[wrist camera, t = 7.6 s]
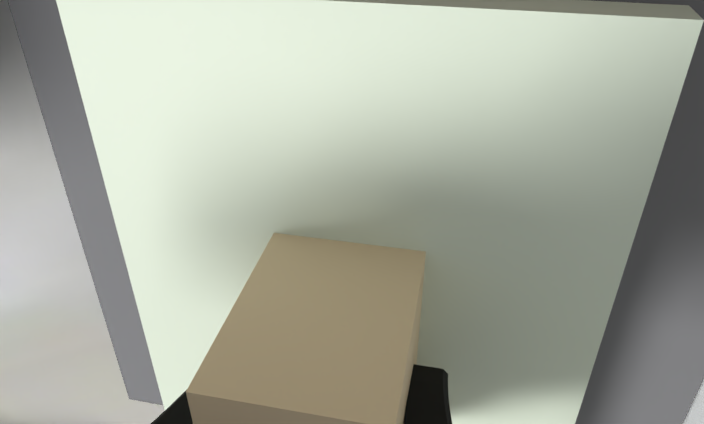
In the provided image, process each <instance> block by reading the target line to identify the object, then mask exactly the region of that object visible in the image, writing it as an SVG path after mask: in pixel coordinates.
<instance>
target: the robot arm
mask: <svg viewBox="0 0 704 424" xmlns="http://www.w3.org/2000/svg"><path fill="white" fill-rule="evenodd" d="M186 391H187V390H186ZM186 391H185V392H184V393H183V394H182V395H181V396H179V397H178V398H177V399H176V400H175V401H174V402H173V403H172V404H171V405H170V406H169V407H168V408H167V409H166V410H165V411H164V412H163V413H162V414H161V415H160V416H159V417H158V418H157V419H156V420H154V421H153V422H152V423H151V424H193V421H192V417H191V412H190V408H189V404H188V399H187V395H186ZM404 424H452V419H451V413H450V405H449V395H448V373H447V372H446V371H445V370H444V369H441V368H435V367H428V366H422V365H416V364H414V365H413V370H412V375H411V381H410V386H409V391H408V397H407V402H406V408H405V421H404Z"/></svg>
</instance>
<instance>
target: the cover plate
mask: <svg viewBox="0 0 704 424" xmlns="http://www.w3.org/2000/svg"><path fill="white" fill-rule="evenodd" d="M56 3H57V6H58V10H59V14H60V18H61V21H62V25H63V29H64V33H65V36H66V40H67V44H68V48H69V52H70V55H71V59H72V63H73V67H74V70H75V74H76V78H77V82H78V85H79V89H80V93H81V97H82V100H83V104H84V108H85V112H86V116H87V119H88V123H89V127H90V131H91V134H92V138H93V142H94V146H95V149H96V153H97V157H98V161H99V165H100V168H101V172H102V176H103V180H104V183H105V187H106V191H107V195H108V198H109V202H110V206H111V210H112V213H113V217H114V221H115V225H116V229H117V232H118V236H119V240H120V244H121V247H122V251H123V255H124V259H125V262H126V266H127V270H128V274H129V277H130V281H131V285H132V289H133V293H134V296H135V300H136V304H137V308H138V311H139V315H140V319H141V323H142V326H143V330H144V334H145V338H146V341H147V345H148V349H149V353H150V357H151V360H152V364H153V368H154V372H155V375H156V379H157V383H158V387H159V390H160V394H161V398H162V402H163V406H164V409H165V410H166V409H167V408H168V407H169V406H170V405H171V404H172V403H173V402H174V401H175V400H176V399H177V398H178V397H179V396H181V395H182V394H183V393H184V392H185V391H186V390H187V391H186V395H187V399H188V404H189V408H190V412H191V417H192V421H193V424H404V421H405V408H406V402H407V397H408V391H409V386H410V381H411V375H412V370H413V365H414V364H416V365H422V366H428V367H435V368H441V369H444V370H445V371H446V372H447V373H448V395H449V405H450V413H451V419H452V424H575V422H576V419H577V416H578V413H579V410H580V407H581V403H582V400H583V397H584V394H585V391H586V388H587V385H588V382H589V378H590V375H591V372H592V369H593V366H594V363H595V360H596V356H597V353H598V350H599V347H600V344H601V341H602V338H603V335H604V331H605V328H606V325H607V322H608V319H609V316H610V313H611V309H612V306H613V303H614V300H615V297H616V294H617V291H618V288H619V284H620V281H621V278H622V275H623V272H624V269H625V266H626V262H627V259H628V256H629V253H630V250H631V247H632V244H633V241H634V237H635V234H636V231H637V228H638V225H639V222H640V219H641V216H642V212H643V209H644V206H645V203H646V200H647V197H648V194H649V190H650V187H651V184H652V181H653V178H654V175H655V172H656V169H657V165H658V162H659V159H660V156H661V153H662V150H663V147H664V143H665V140H666V137H667V134H668V131H669V128H670V125H671V122H672V118H673V115H674V112H675V109H676V106H677V103H678V100H679V97H680V93H681V90H682V87H683V84H684V81H685V78H686V75H687V71H688V68H689V65H690V62H691V59H692V56H693V53H694V50H695V46H696V43H697V40H698V37H699V34H700V31H701V28H702V24H703V21H704V20H703V19H702V18H701V17H700V16H699V15H698V14H697V13H696V12H695V11H694V10H693V9H692V8H691V7H690V6H689V5H672V4H651V3H630V2H610V1H589V0H56Z"/></svg>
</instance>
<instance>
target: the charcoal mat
mask: <svg viewBox="0 0 704 424" xmlns="http://www.w3.org/2000/svg"><path fill="white" fill-rule="evenodd" d="M589 1H610V2H630V3H651V4H672V5H689V6H690V7H691V8H692V9H693V10H694V11H695V12H696V13H697V14H698V15H699V16H700V17H701V18H702V19H703V20H704V0H589ZM8 4H9V7H10V10H11V13H12V17H13V20H14V23H15V27H16V30H17V33H18V36H19V40H20V43H21V46H22V49H23V53H24V56H25V59H26V63H27V66H28V69H29V72H30V76H31V79H32V82H33V85H34V89H35V92H36V95H37V99H38V102H39V105H40V108H41V112H42V115H43V118H44V121H45V125H46V128H47V131H48V135H49V138H50V141H51V144H52V148H53V151H54V154H55V157H56V161H57V164H58V167H59V171H60V174H61V177H62V180H63V184H64V187H65V190H66V193H67V197H68V200H69V203H70V207H71V210H72V213H73V216H74V220H75V223H76V226H77V229H78V233H79V236H80V239H81V243H82V246H83V249H84V252H85V256H86V259H87V262H88V265H89V269H90V272H91V275H92V279H93V282H94V285H95V288H96V292H97V295H98V298H99V302H100V305H101V308H102V311H103V315H104V318H105V321H106V324H107V328H108V331H109V334H110V338H111V341H112V344H113V347H114V351H115V354H116V357H117V360H118V364H119V367H120V370H121V374H122V377H123V380H124V383H125V387H126V390H127V393H128V396H129V399H132V400H138V401H143V402H149V403H154V404H160V405H163V402H162V398H161V394H160V390H159V387H158V383H157V379H156V375H155V372H154V368H153V364H152V360H151V357H150V353H149V349H148V345H147V341H146V338H145V334H144V330H143V326H142V323H141V319H140V315H139V311H138V308H137V304H136V300H135V296H134V293H133V289H132V285H131V281H130V277H129V274H128V270H127V266H126V262H125V259H124V255H123V251H122V247H121V244H120V240H119V236H118V232H117V229H116V225H115V221H114V217H113V213H112V210H111V206H110V202H109V198H108V195H107V191H106V187H105V183H104V180H103V176H102V172H101V168H100V165H99V161H98V157H97V153H96V149H95V146H94V142H93V138H92V134H91V131H90V127H89V123H88V119H87V116H86V112H85V108H84V104H83V100H82V97H81V93H80V89H79V85H78V82H77V78H76V74H75V70H74V67H73V63H72V59H71V55H70V52H69V48H68V44H67V40H66V36H65V33H64V29H63V25H62V21H61V18H60V14H59V10H58V6H57V3H56V0H8ZM703 378H704V21H703V24H702V28H701V31H700V34H699V37H698V40H697V43H696V46H695V50H694V53H693V56H692V59H691V62H690V65H689V68H688V71H687V75H686V78H685V81H684V84H683V87H682V90H681V93H680V97H679V100H678V103H677V106H676V109H675V112H674V115H673V118H672V122H671V125H670V128H669V131H668V134H667V137H666V140H665V143H664V147H663V150H662V153H661V156H660V159H659V162H658V165H657V169H656V172H655V175H654V178H653V181H652V184H651V187H650V190H649V194H648V197H647V200H646V203H645V206H644V209H643V212H642V216H641V219H640V222H639V225H638V228H637V231H636V234H635V237H634V241H633V244H632V247H631V250H630V253H629V256H628V259H627V262H626V266H625V269H624V272H623V275H622V278H621V281H620V284H619V288H618V291H617V294H616V297H615V300H614V303H613V306H612V309H611V313H610V316H609V319H608V322H607V325H606V328H605V331H604V335H603V338H602V341H601V344H600V347H599V350H598V353H597V356H596V360H595V363H594V366H593V369H592V372H591V375H590V378H589V382H588V385H587V388H586V391H585V394H584V397H583V400H582V403H581V407H580V410H579V413H578V416H577V419H576V422H575V424H682V423H683V421H684V419H685V417H686V415H687V413H688V410H689V408H690V406H691V404H692V402H693V400H694V398H695V395H696V393H697V391H698V389H699V387H700V385H701V383H702V381H703Z"/></svg>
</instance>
